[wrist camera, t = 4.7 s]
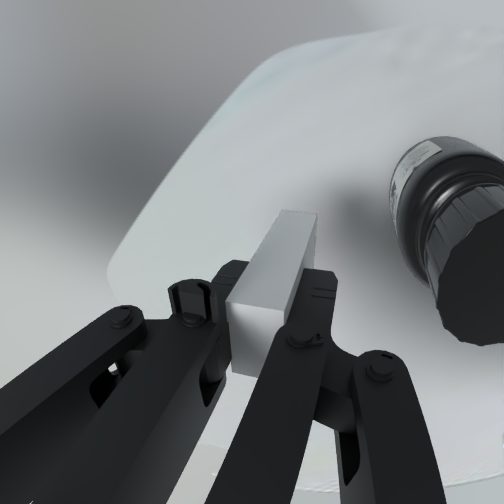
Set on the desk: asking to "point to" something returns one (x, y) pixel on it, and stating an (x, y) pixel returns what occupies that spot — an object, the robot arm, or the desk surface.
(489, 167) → the ink bottle
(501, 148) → the desk surface
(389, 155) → the desk surface
